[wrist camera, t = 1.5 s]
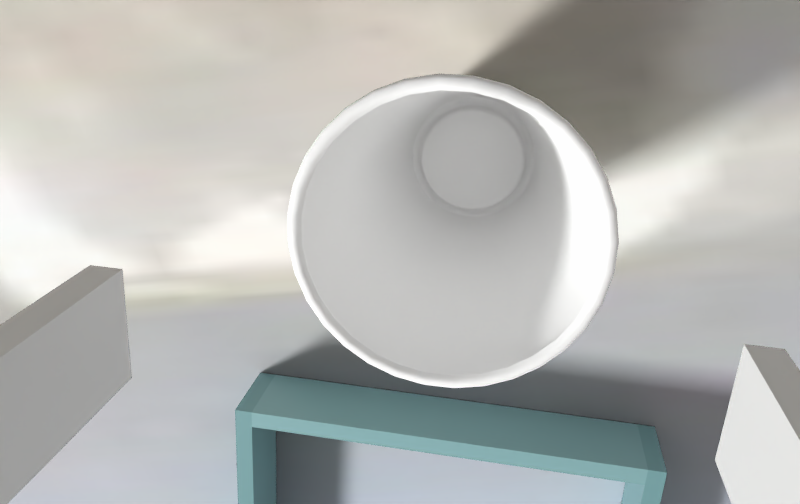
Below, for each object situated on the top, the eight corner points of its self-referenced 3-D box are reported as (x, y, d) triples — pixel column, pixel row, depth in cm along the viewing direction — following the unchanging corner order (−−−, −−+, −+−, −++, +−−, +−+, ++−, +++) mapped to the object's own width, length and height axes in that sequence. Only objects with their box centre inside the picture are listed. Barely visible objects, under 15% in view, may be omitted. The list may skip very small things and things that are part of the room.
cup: (593, 32, 29) (626, 65, 19) (588, 263, 33) (613, 394, 23) (351, 46, 31) (265, 82, 21) (370, 264, 35) (304, 385, 24)
